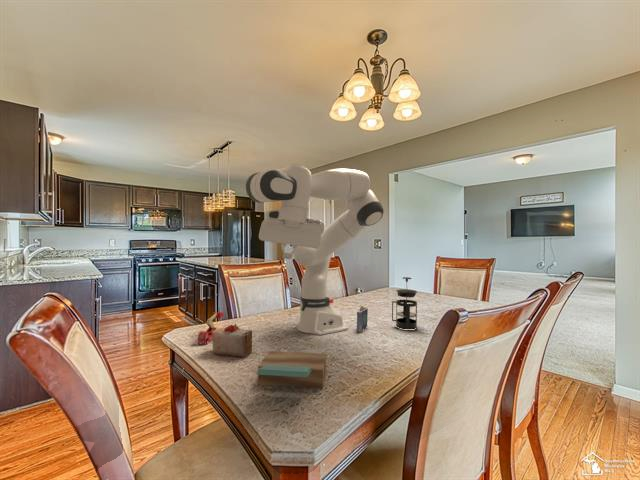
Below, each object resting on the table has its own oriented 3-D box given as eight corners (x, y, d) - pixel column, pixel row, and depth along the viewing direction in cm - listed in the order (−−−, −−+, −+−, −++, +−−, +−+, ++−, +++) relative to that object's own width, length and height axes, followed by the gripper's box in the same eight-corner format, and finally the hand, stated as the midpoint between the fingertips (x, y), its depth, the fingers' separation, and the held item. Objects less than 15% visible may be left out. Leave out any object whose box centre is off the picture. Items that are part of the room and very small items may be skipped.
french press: (416, 325, 138) (417, 276, 138) (420, 331, 129) (421, 279, 129) (391, 324, 140) (391, 275, 140) (392, 330, 131) (393, 278, 131)
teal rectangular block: (267, 364, 80) (257, 369, 72) (311, 366, 79) (306, 371, 70) (267, 369, 80) (257, 374, 71) (311, 371, 79) (306, 377, 70)
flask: (361, 333, 127) (361, 308, 127) (354, 331, 128) (354, 307, 128) (368, 327, 135) (368, 304, 135) (362, 326, 136) (362, 303, 136)
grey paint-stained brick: (208, 355, 101) (208, 326, 101) (221, 347, 109) (221, 320, 109) (244, 359, 98) (244, 330, 98) (255, 350, 106) (255, 323, 106)
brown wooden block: (268, 367, 93) (269, 351, 93) (326, 370, 91) (326, 353, 91) (258, 384, 82) (258, 366, 82) (322, 388, 80) (323, 369, 80)
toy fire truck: (196, 345, 111) (196, 319, 111) (216, 333, 124) (216, 310, 124) (204, 345, 110) (204, 320, 110) (223, 334, 124) (224, 311, 123)
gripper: (325, 221, 99) (319, 262, 100) (264, 212, 99) (259, 253, 99) (325, 220, 93) (319, 264, 93) (261, 211, 93) (254, 254, 93)
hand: (287, 258), depth 96 cm, fingers closed
